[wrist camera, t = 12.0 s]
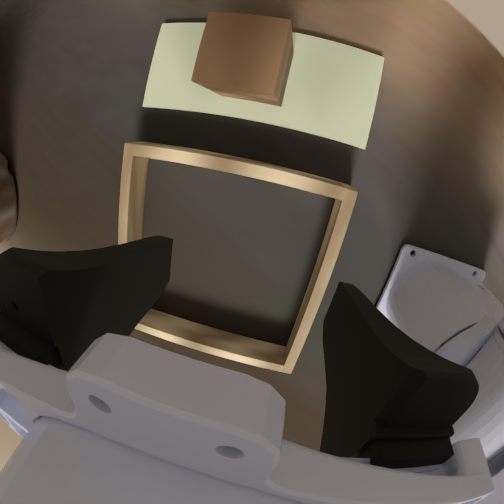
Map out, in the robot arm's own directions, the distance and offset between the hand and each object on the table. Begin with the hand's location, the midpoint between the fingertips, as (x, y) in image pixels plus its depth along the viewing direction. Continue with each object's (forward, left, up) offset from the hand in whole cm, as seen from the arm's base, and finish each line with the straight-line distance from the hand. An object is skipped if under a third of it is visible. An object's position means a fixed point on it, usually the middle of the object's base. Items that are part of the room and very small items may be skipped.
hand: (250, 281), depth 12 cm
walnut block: (+3, -10, -9) cm, 14 cm away
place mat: (+3, -10, -9) cm, 14 cm away
